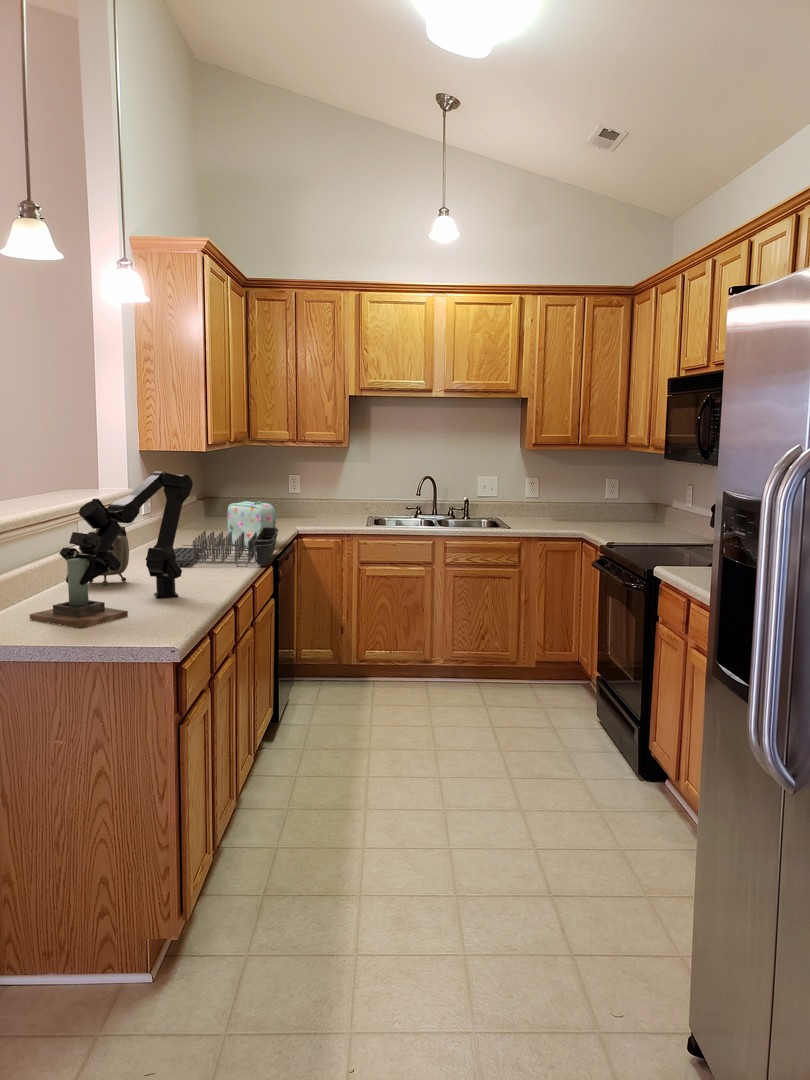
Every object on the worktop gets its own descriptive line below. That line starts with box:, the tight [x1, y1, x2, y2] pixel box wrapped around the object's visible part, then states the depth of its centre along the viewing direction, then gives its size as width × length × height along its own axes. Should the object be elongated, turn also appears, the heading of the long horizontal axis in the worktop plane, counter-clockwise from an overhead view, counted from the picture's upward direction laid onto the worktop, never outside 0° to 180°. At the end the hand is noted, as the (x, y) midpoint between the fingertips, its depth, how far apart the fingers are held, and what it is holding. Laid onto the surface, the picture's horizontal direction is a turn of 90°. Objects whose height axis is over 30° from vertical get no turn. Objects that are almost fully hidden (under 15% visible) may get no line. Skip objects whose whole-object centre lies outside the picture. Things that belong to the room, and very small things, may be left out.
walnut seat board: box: [29, 599, 129, 629], centre depth 214 cm, size 16×20×4 cm
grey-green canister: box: [66, 558, 90, 608], centre depth 213 cm, size 5×5×13 cm
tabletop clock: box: [80, 528, 130, 586], centre depth 259 cm, size 14×9×25 cm, turn 103°
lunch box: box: [226, 500, 278, 549], centre depth 347 cm, size 27×10×21 cm, turn 51°
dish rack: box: [173, 527, 279, 568], centre depth 310 cm, size 34×44×12 cm
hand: (73, 583), depth 212 cm, fingers closed on grey-green canister, 5 cm apart
